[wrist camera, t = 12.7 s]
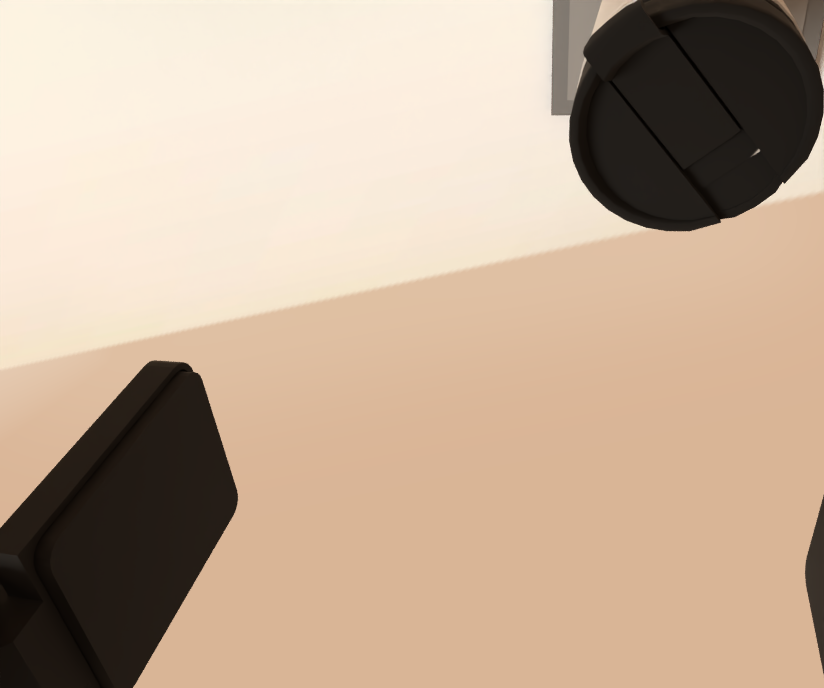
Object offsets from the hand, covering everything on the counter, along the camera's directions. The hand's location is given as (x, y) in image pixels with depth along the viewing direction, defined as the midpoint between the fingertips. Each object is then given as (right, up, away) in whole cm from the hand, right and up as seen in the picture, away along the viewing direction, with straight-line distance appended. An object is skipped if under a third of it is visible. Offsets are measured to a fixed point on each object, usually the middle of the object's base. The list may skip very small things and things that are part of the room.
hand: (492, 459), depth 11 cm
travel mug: (+11, +18, +24) cm, 32 cm away
